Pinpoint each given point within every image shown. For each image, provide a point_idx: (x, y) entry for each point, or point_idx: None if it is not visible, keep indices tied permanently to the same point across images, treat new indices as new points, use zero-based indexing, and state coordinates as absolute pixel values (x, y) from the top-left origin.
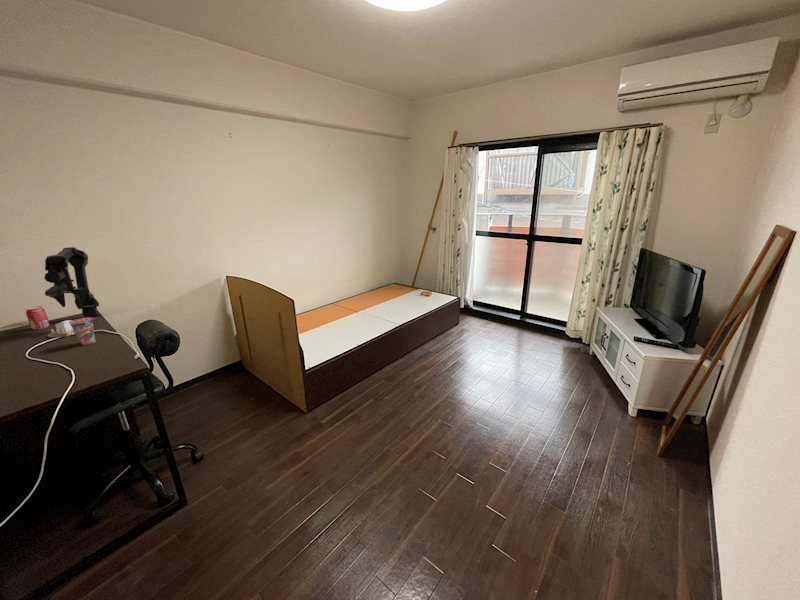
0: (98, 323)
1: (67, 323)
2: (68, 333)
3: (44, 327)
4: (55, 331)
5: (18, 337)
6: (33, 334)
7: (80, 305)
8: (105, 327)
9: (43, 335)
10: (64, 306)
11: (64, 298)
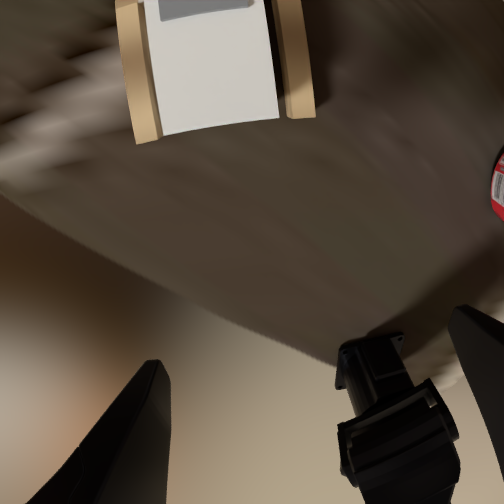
0: (183, 278)
1: (150, 39)
2: (118, 9)
3: (494, 170)
4: (285, 10)
5: (493, 26)
6: (467, 58)
7: (135, 374)
8: (35, 212)
9: (380, 16)
10: (452, 322)
11: (495, 444)
